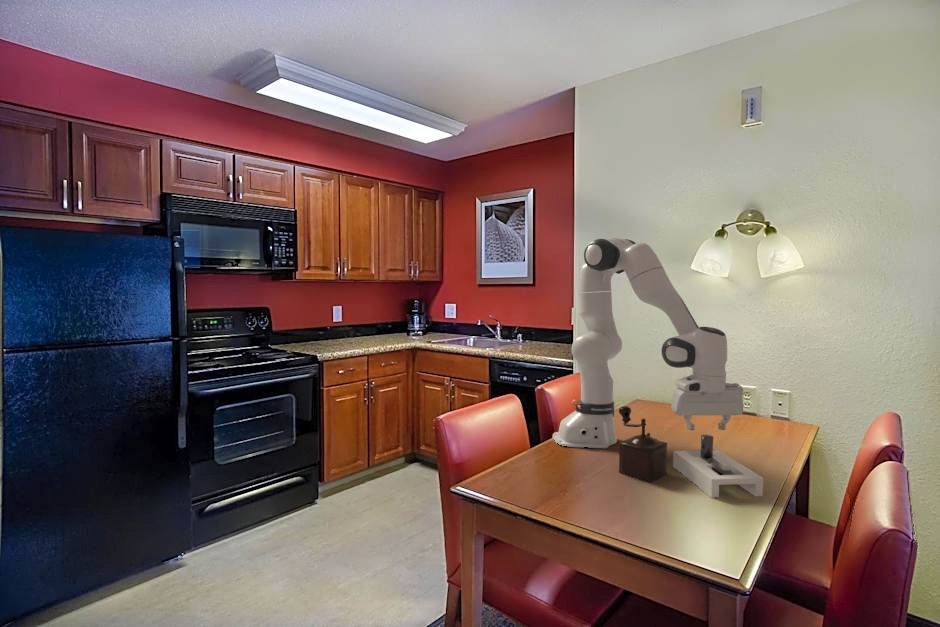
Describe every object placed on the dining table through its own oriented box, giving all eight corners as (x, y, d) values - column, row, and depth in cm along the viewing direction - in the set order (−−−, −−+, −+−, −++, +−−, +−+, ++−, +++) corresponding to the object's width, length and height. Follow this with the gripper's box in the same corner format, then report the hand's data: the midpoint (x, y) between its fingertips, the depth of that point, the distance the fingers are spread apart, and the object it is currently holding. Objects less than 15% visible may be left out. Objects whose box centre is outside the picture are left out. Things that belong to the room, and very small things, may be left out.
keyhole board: (711, 497, 133) (711, 479, 133) (673, 466, 155) (673, 450, 155) (762, 496, 134) (763, 477, 134) (717, 465, 156) (717, 449, 156)
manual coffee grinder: (669, 472, 151) (670, 413, 149) (650, 483, 143) (652, 420, 142) (622, 459, 162) (623, 403, 161) (602, 468, 154) (603, 410, 153)
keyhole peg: (702, 478, 147) (703, 439, 146) (693, 471, 152) (694, 433, 151) (719, 477, 147) (720, 438, 146) (709, 471, 152) (711, 433, 151)
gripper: (736, 380, 151) (734, 426, 152) (670, 380, 150) (667, 426, 151) (749, 385, 145) (746, 432, 146) (680, 385, 144) (677, 433, 145)
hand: (706, 429), depth 149 cm, fingers open, 8 cm apart
